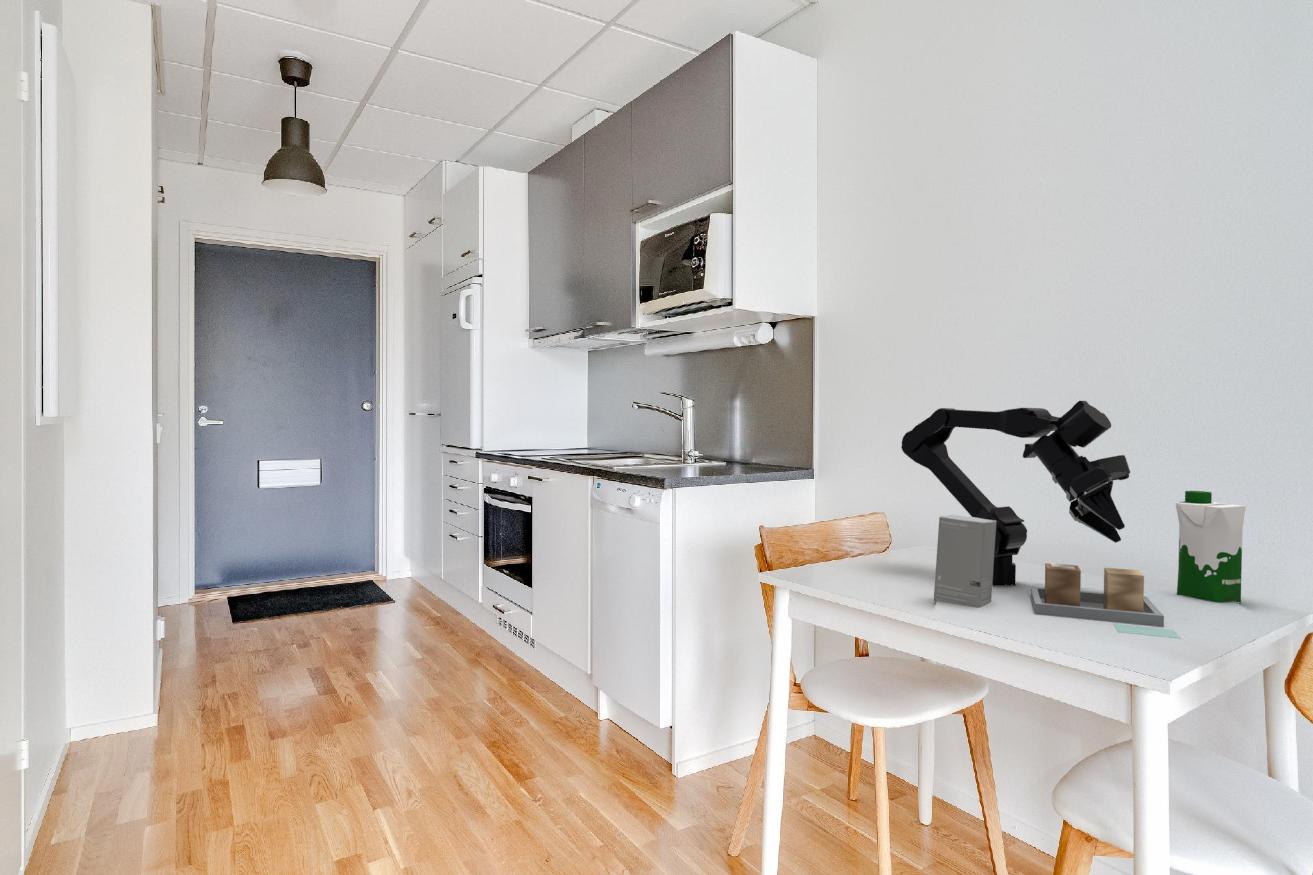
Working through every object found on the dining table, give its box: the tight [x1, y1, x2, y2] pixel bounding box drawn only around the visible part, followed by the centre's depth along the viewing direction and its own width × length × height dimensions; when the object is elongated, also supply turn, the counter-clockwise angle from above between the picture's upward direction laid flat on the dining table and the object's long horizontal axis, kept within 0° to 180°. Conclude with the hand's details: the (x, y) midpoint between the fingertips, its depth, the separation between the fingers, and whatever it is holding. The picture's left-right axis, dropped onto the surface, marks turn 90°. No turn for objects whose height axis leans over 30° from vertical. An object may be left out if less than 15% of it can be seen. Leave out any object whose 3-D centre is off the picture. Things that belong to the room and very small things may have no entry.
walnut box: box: [1044, 562, 1082, 607], centre depth 128 cm, size 5×5×7 cm
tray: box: [1030, 586, 1165, 628], centre depth 126 cm, size 18×14×2 cm
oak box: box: [1103, 567, 1145, 612], centre depth 124 cm, size 5×5×7 cm
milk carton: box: [1175, 490, 1247, 604], centre depth 136 cm, size 9×9×20 cm
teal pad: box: [1112, 623, 1182, 640], centre depth 113 cm, size 8×5×1 cm, turn 66°
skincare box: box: [933, 514, 997, 609], centre depth 132 cm, size 8×7×16 cm
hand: (1120, 535), depth 128 cm, fingers open, 9 cm apart
